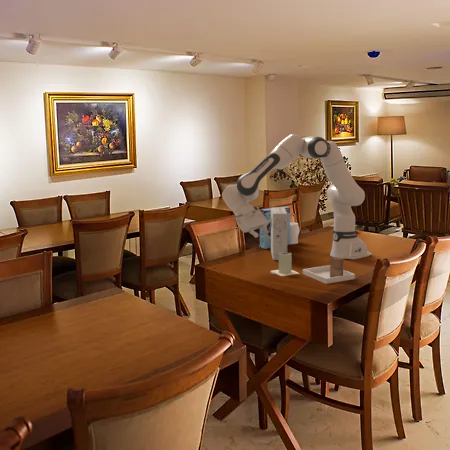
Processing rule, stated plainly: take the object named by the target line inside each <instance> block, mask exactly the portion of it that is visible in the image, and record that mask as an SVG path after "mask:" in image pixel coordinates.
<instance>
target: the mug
mask: <svg viewBox="0 0 450 450" xmlns="http://www.w3.org/2000/svg"><path fill="white" fill-rule="evenodd" d="M299 234H300V226H299V223H298V222H293V221H290V245H297V244H298V243H299Z"/></svg>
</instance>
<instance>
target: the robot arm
mask: <svg viewBox="0 0 450 450" xmlns="http://www.w3.org/2000/svg"><path fill="white" fill-rule="evenodd" d="M298 156H300V157H301V158H305V159H306V158H307V159H319V161H320V162H321V164H322V167H323V170H324V172H325V175H326V178H327V179H328V181H329V182H330V183H331V184H330V185H329V186H328V188H327V190H326V196H327V198H328V200H329V201H330V203H331V208H332V212H333V230H332V245H331V250H330V254H329V256H330V257H332V258H333V257H340V258H344V260H346V259H348V260H358V259H362V258H367V257H370V255H371V256H372V252H370V251H368V247H367V244H366V242H365V241H363V240H362V239H361V238H359V237H358V235H359V236H360V235H362V231H361V230H356V216H355V213H354V212H353V209H352V207H357V206H360V205H361V204H363V202H364V200H365V199H366V198H365V197H366V195H365V191H364V189H363V188H362V187H361V186H359V185H358V184H357V182H356V181H355V179H354V178H353V176H352V174H351V173H350V171H349V170H348V166H347V164H346V161H345V160H344V156H343V153H342V152H341V149H340V148H339V147H338V145H337V143H336V142H335V141H334V140H333V141H332V140H326V139H325V138H323V137H321V136H315V135H310V136H302V137H301V136H300V135H298V134H297V133H296V134H295V133H291V134H289V135H288V136H286V137H285V138H283V139H282V140H281V141H280V142H278V144H277V145H276V146H275V147H274V148H273V149H272V150H271V151H270V153H269V154H268V155H267V156H265V157H264V159H262V160H261V161H260V162H259V163H258V164H257V165H256V166H255V167H254V168H253V169H252V170H250V171H249V172H246V173H244V174H242V175H240V176H239V178H238V179H237V182H236V184H229V185H227V186H226V187H224V189H223V191H222V192H221V197H222V200H223V201H224V203H225V204H226V206H227V207H228V208H229V209H230V210H231V211H232V212H233V214H234V215H235V217H234V219H235V221H236V225H237V226H238V228H239V229H240V230H241V231H242V233H244V234H245V233H249V234H251V236H253V237H254V238H258V237H260V233H258V232H257V231H255V230H258V229H260V228H261V229H263V231H264V234H268V233H269V231H268V230H267V228H266V224H267V223H268V221H267V219H266V218H265V217H264V215H263V214H262V213H261V212H260V208H259V207H258V206H255V205H251V204H250V203H251V202H253V201H255V200H256V199H257V198H258V197H259V195H260V188H259V185H260V182H261V181H263V180H262V179H264V178H265V177H266V176H267V175H268V174H269V173H270V172H271V171H273V170H275V169H277V170H284V169H285V168H287V167H288V166H289V165H290V164H292V162H293V161H294V160H295V159H296V158H297V157H298Z"/></svg>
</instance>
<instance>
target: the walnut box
mask: <svg viewBox="0 0 450 450" xmlns="http://www.w3.org/2000/svg"><path fill="white" fill-rule="evenodd" d="M344 260H345V259H344V258H340V257H332V258H330V263H329V265H330V278H331V277H337V276H343V270H344Z"/></svg>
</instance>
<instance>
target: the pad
mask: <svg viewBox="0 0 450 450" xmlns="http://www.w3.org/2000/svg"><path fill="white" fill-rule="evenodd" d="M269 272H270V274H272V275H274V274H275V275H277V276H280V277H286V276H295V275H300V272H297V271H296V270H293V269H291V272H290V273H288V274H286V273H279V269H274V270H273V269H272V270H270V271H269Z"/></svg>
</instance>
